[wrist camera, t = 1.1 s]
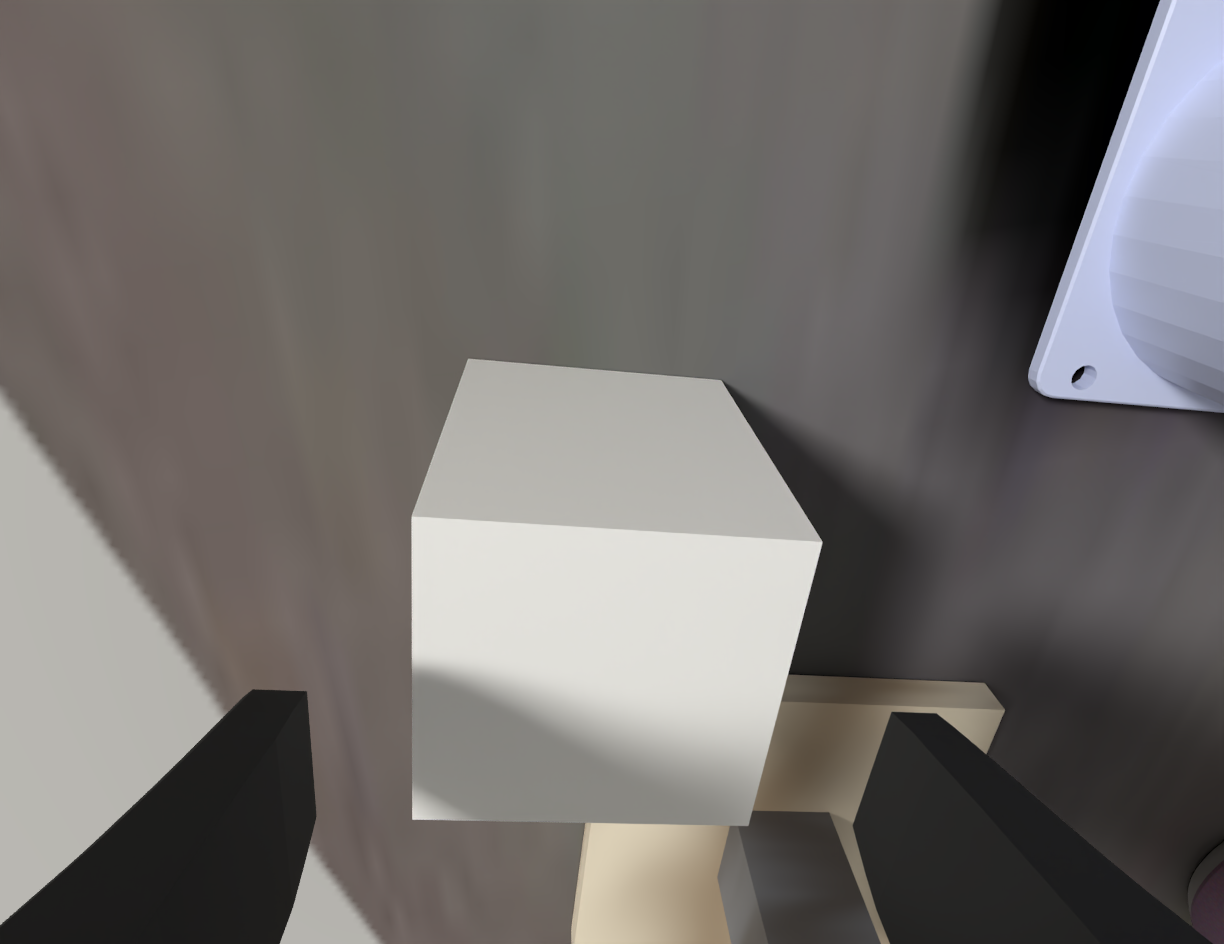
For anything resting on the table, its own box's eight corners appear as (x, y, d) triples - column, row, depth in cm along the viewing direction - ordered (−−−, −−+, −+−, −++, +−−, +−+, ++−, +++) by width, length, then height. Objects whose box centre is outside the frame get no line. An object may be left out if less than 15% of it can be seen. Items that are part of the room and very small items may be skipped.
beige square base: (984, 682, 20) (1146, 896, 14) (885, 929, 24) (981, 1167, 19) (605, 667, 19) (627, 891, 13) (571, 928, 23) (576, 1180, 17)
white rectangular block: (721, 380, 16) (822, 541, 10) (684, 589, 18) (748, 826, 12) (468, 358, 15) (412, 516, 9) (461, 576, 17) (412, 819, 11)
